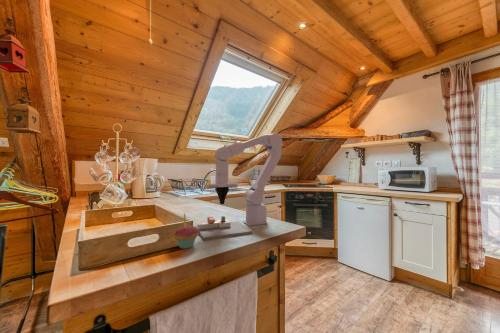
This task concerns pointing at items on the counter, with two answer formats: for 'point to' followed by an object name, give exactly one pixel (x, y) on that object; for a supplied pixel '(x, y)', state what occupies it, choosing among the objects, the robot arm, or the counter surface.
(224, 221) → the pintle
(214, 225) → the link
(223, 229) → the board
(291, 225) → the counter surface
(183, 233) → the cupcake
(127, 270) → the counter surface
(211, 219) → the keeper
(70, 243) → the counter surface
